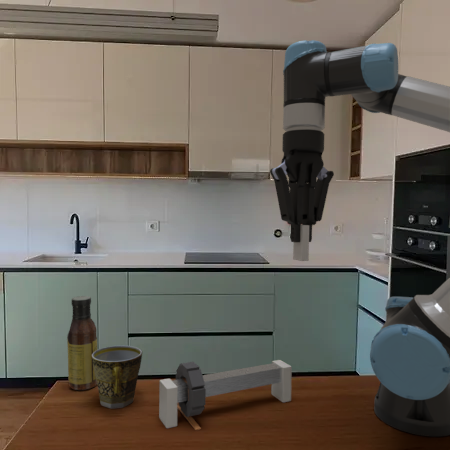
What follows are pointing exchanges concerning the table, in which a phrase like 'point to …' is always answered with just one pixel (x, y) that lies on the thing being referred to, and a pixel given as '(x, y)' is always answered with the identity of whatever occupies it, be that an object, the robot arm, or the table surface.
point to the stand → (170, 418)
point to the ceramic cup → (117, 374)
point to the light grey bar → (233, 380)
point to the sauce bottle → (81, 345)
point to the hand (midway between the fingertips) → (300, 259)
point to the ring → (192, 388)
